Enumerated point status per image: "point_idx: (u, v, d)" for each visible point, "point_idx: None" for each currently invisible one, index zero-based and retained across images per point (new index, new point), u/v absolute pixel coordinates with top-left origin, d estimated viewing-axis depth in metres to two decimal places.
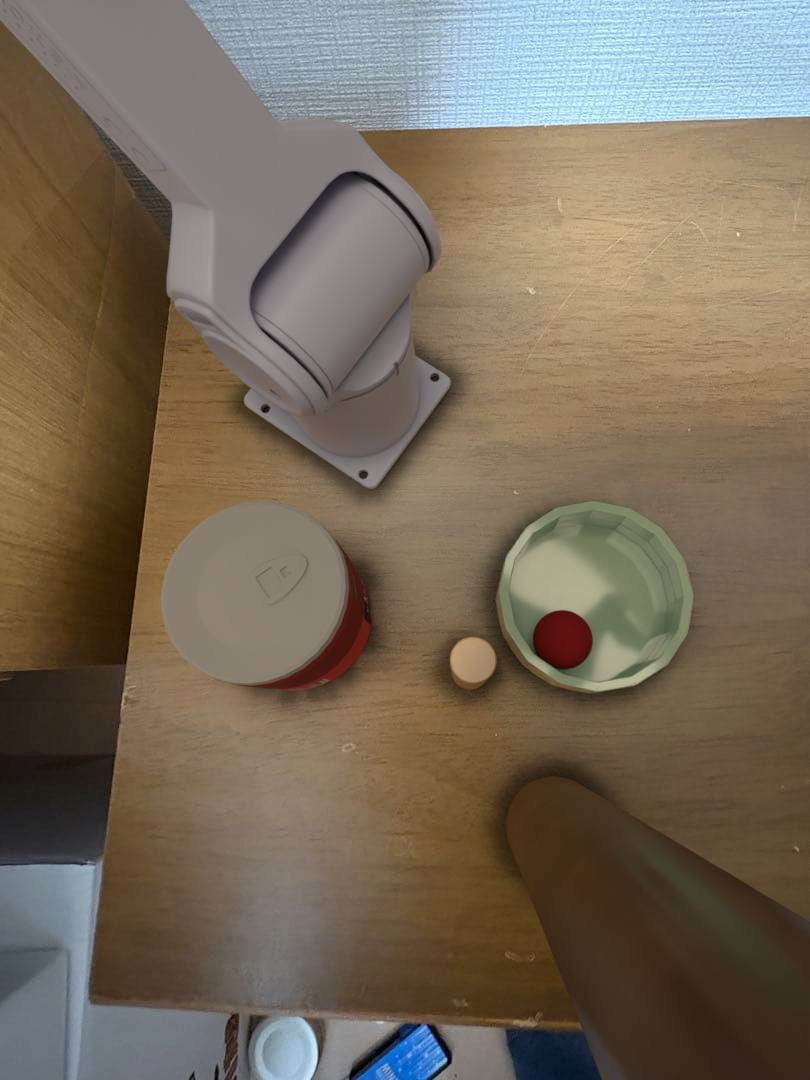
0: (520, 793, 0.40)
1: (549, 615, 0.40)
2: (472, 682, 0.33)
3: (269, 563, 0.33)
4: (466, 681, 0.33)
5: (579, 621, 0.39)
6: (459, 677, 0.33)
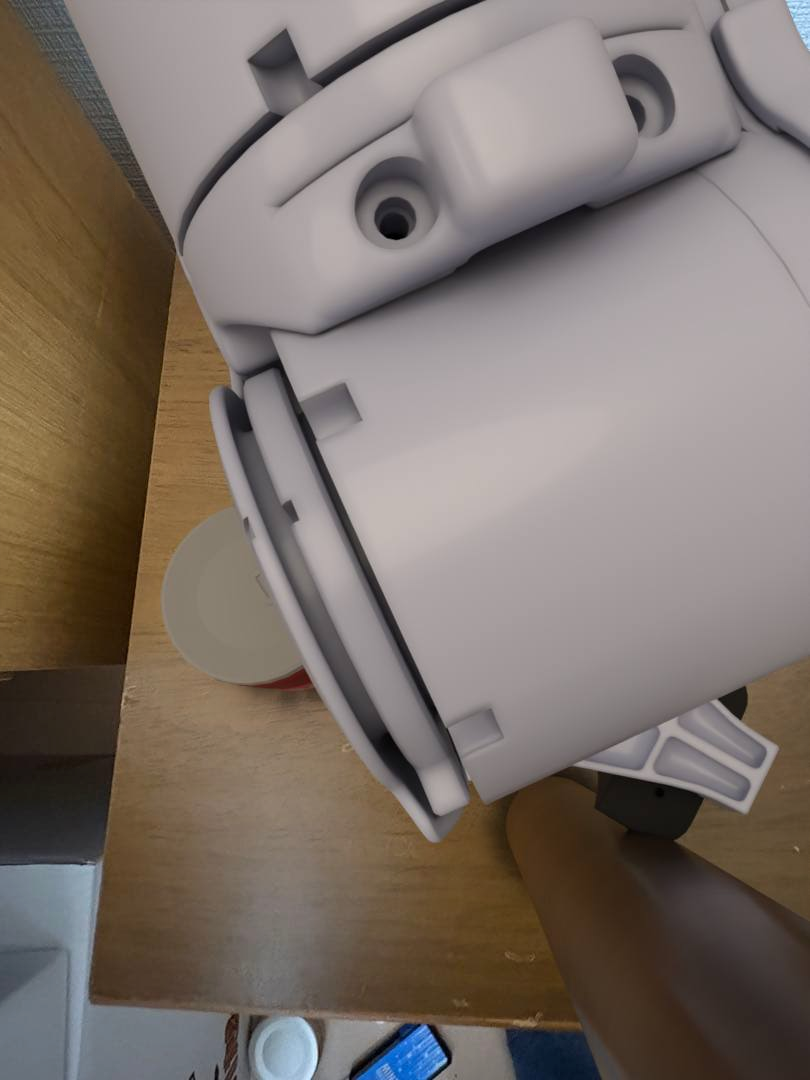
0: (520, 793, 0.40)
1: None
2: None
3: None
4: None
5: None
6: None
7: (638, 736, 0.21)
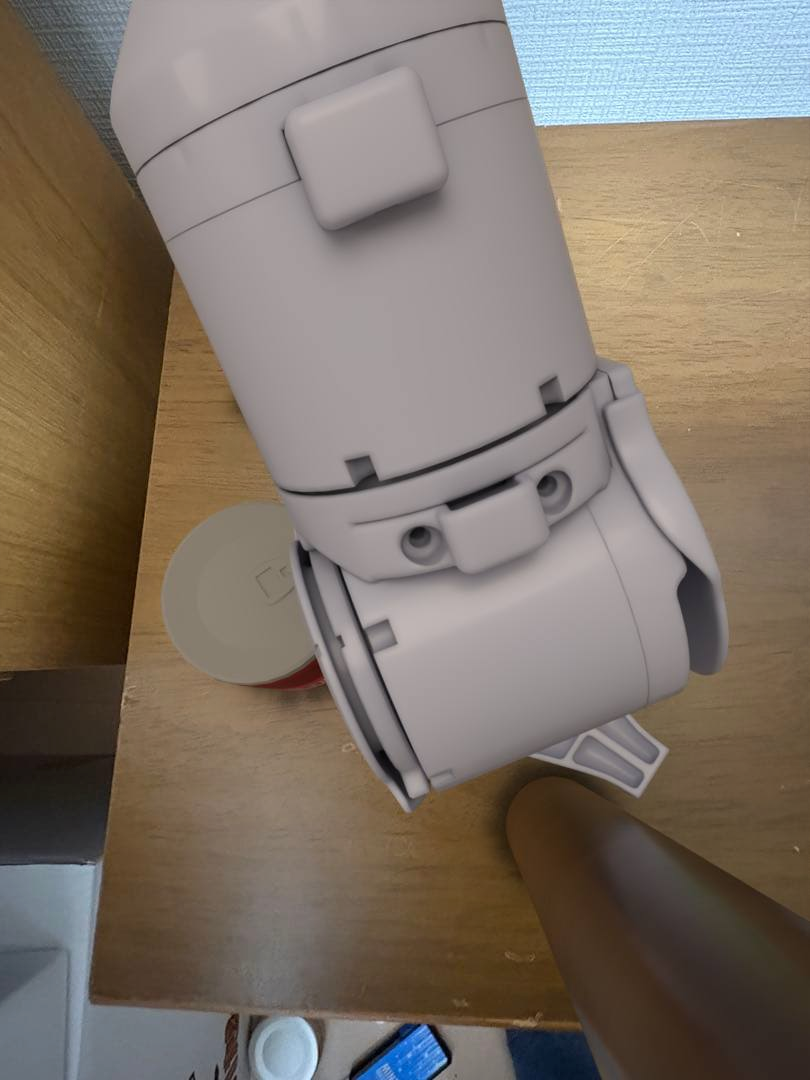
0: (520, 793, 0.40)
1: None
2: None
3: (269, 563, 0.33)
4: None
5: None
6: None
7: None
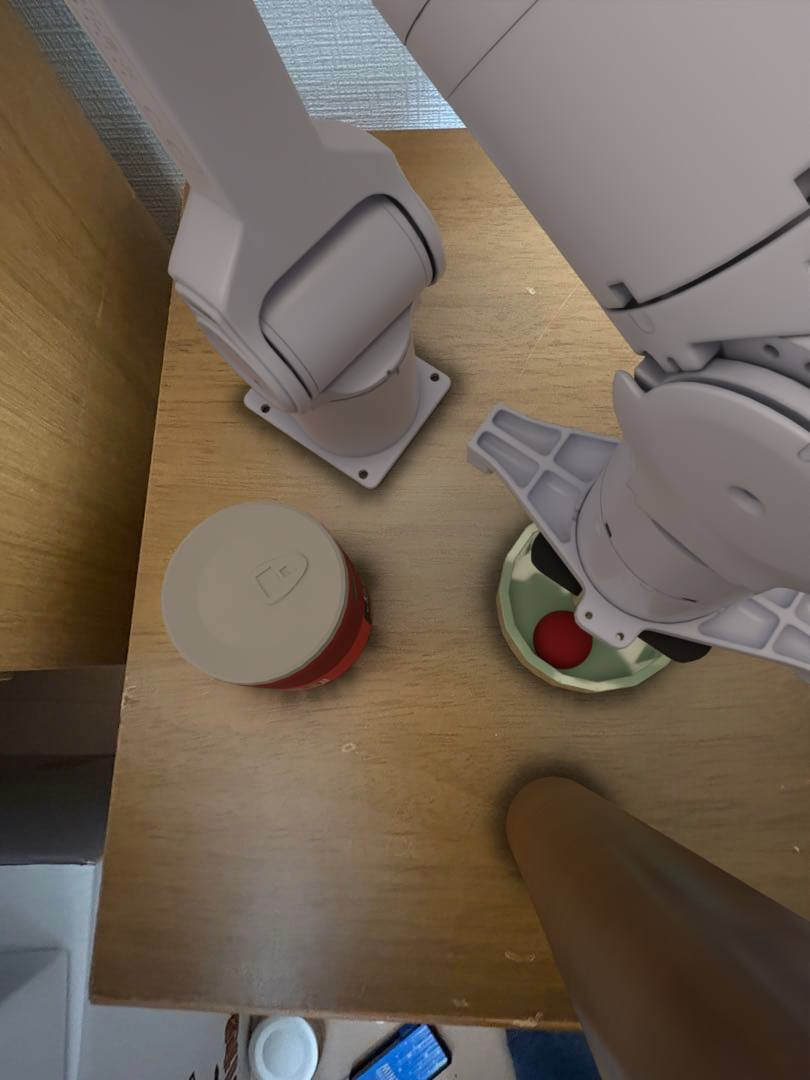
0: (520, 793, 0.40)
1: (549, 615, 0.40)
2: None
3: (269, 563, 0.33)
4: None
5: None
6: None
7: (759, 624, 0.26)
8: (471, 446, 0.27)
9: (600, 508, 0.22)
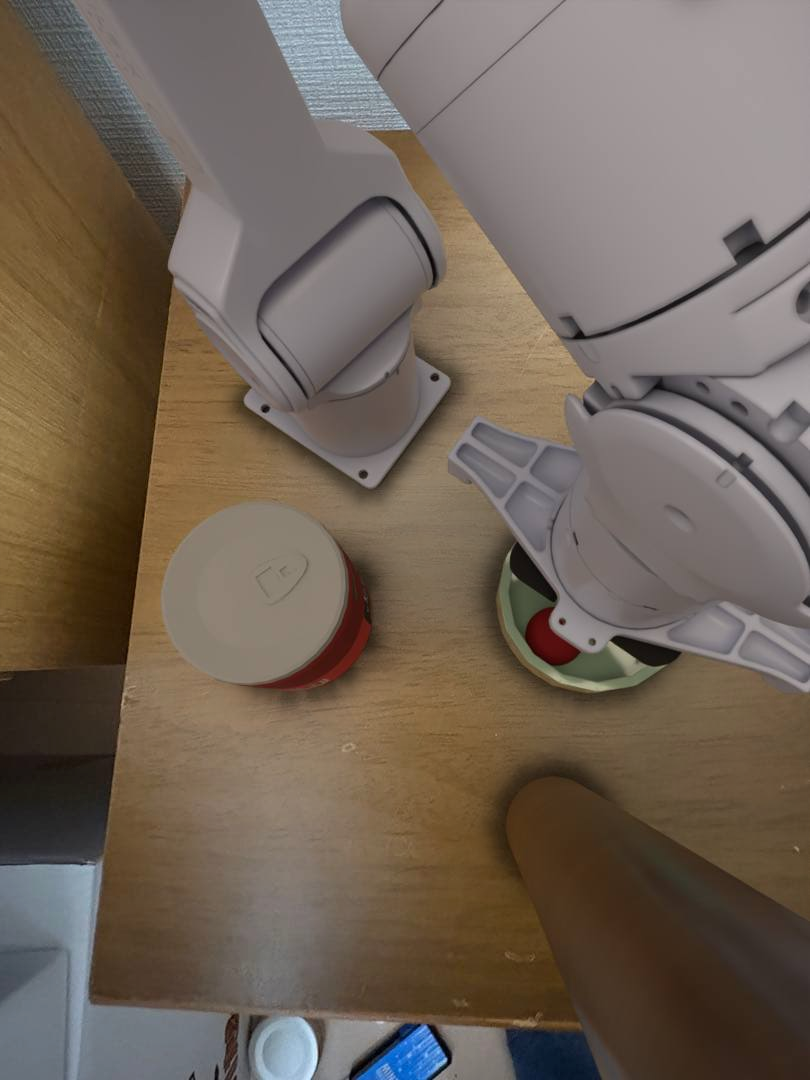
0: (520, 793, 0.40)
1: (536, 615, 0.40)
2: None
3: (269, 563, 0.33)
4: None
5: None
6: None
7: (725, 630, 0.27)
8: (451, 458, 0.28)
9: (569, 520, 0.23)
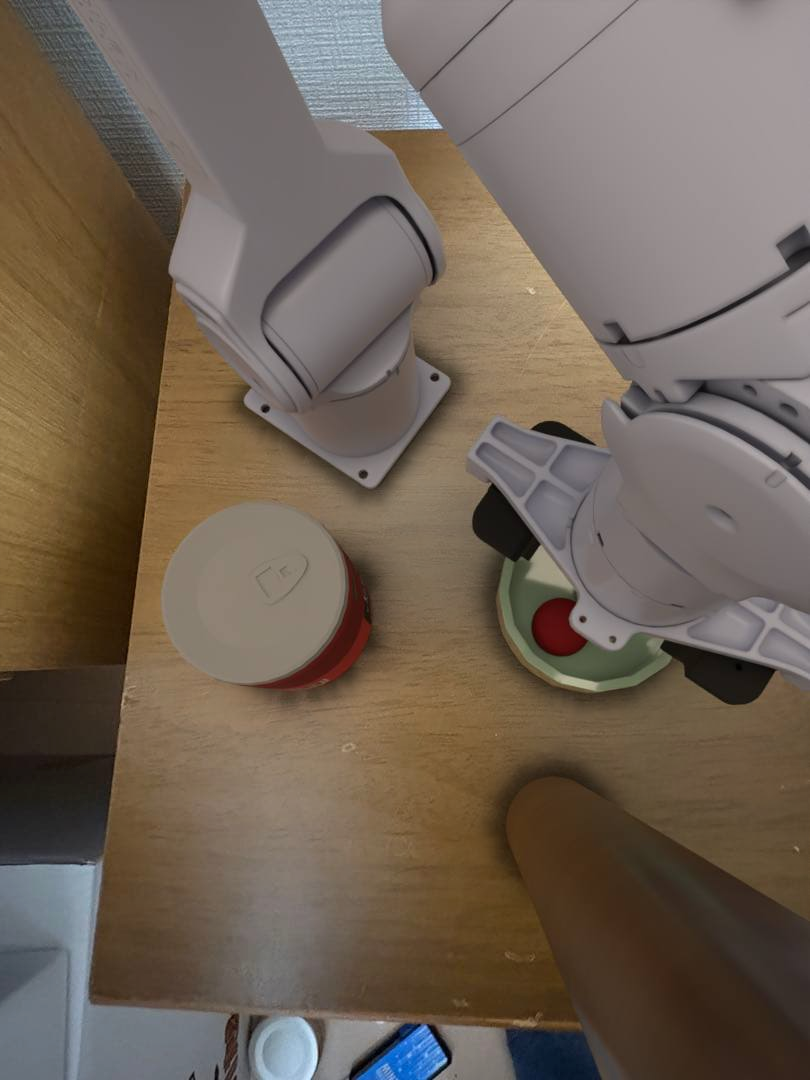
0: (520, 793, 0.40)
1: (544, 603, 0.40)
2: None
3: (269, 563, 0.33)
4: None
5: (575, 602, 0.40)
6: None
7: (745, 627, 0.27)
8: (471, 457, 0.28)
9: (593, 518, 0.23)
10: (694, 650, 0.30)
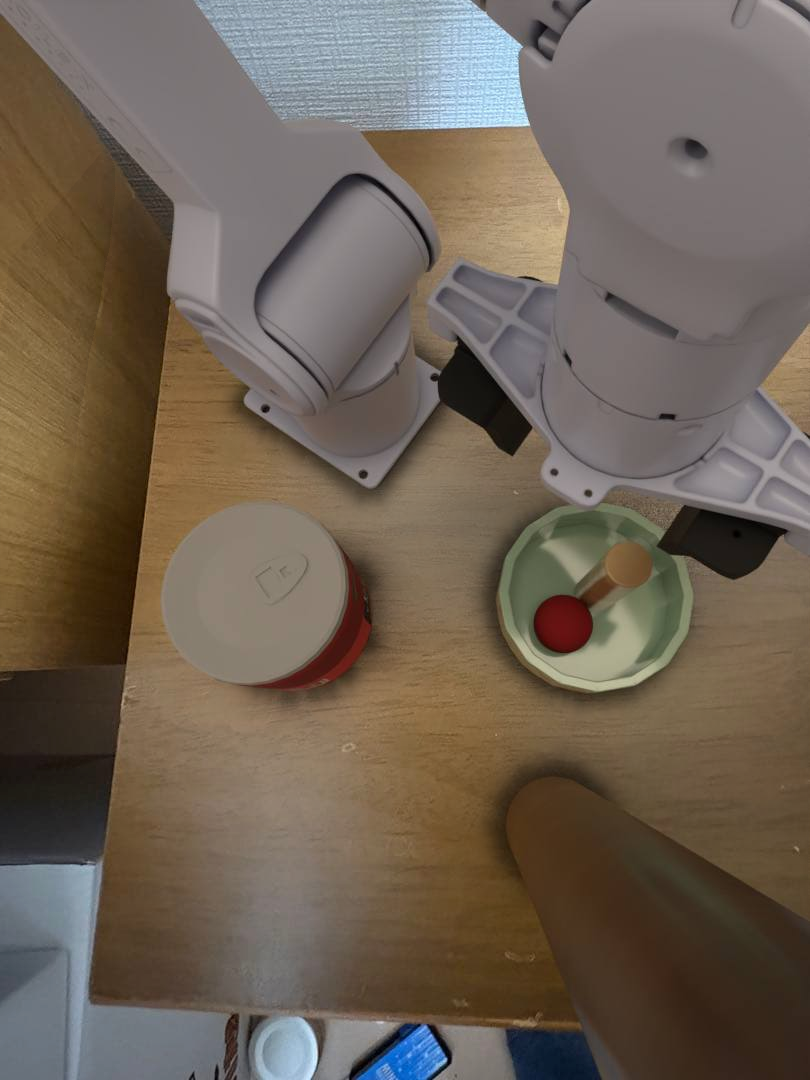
0: (520, 793, 0.40)
1: (547, 599, 0.40)
2: (627, 585, 0.33)
3: (269, 563, 0.33)
4: (621, 584, 0.33)
5: (577, 598, 0.40)
6: (614, 580, 0.33)
7: (741, 480, 0.24)
8: (430, 303, 0.26)
9: (554, 326, 0.20)
10: (687, 524, 0.27)
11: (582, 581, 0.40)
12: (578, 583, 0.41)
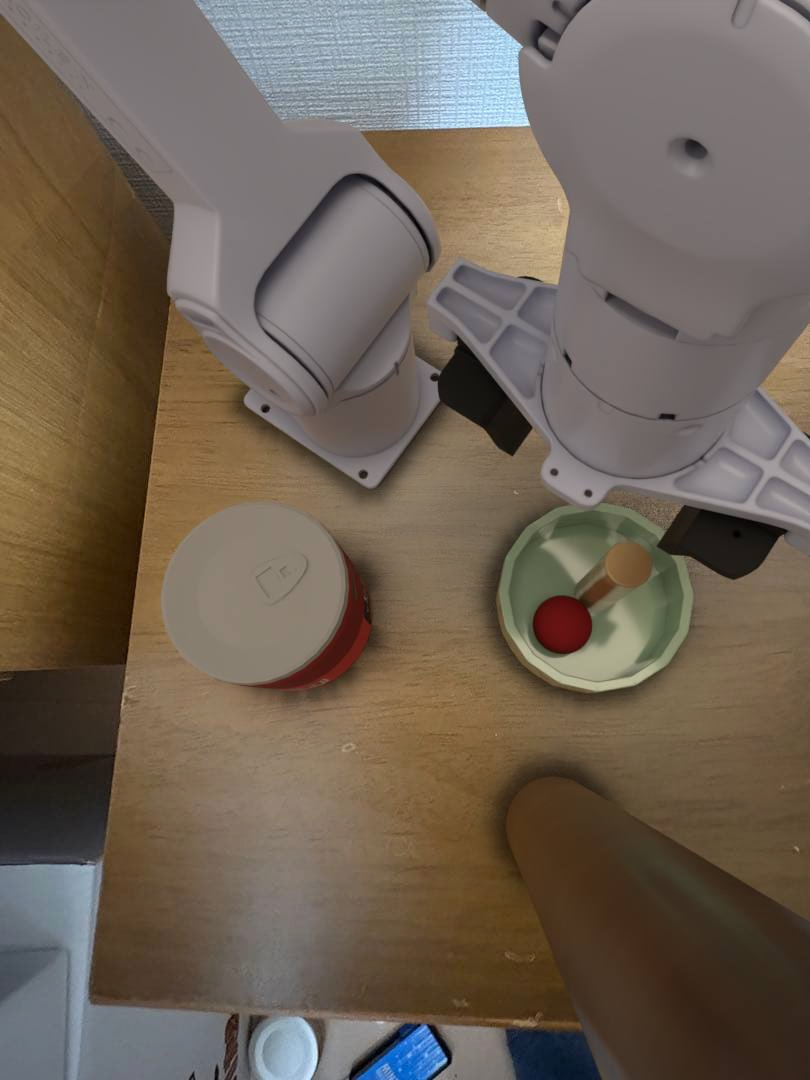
0: (520, 793, 0.40)
1: (546, 600, 0.40)
2: (627, 585, 0.33)
3: (269, 563, 0.33)
4: (621, 584, 0.33)
5: (576, 599, 0.40)
6: (614, 580, 0.33)
7: (741, 480, 0.24)
8: (430, 303, 0.26)
9: (554, 326, 0.20)
10: (687, 524, 0.27)
11: (582, 581, 0.40)
12: (578, 583, 0.41)
